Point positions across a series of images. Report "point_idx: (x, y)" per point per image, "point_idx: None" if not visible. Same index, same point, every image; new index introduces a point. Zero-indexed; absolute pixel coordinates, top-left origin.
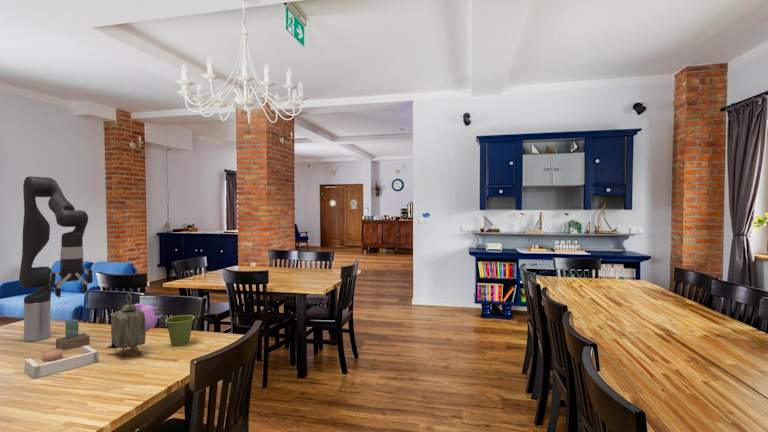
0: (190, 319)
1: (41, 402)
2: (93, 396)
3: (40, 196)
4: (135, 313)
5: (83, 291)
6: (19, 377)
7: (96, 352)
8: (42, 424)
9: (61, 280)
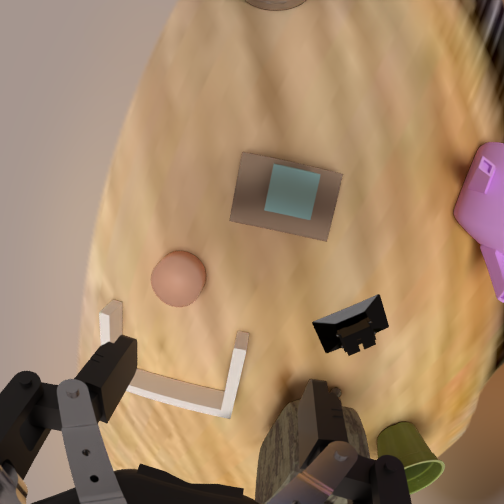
0: (434, 468)
1: (109, 445)
2: None
3: None
4: None
5: (299, 419)
6: (98, 333)
7: (225, 417)
8: None
9: (86, 455)
